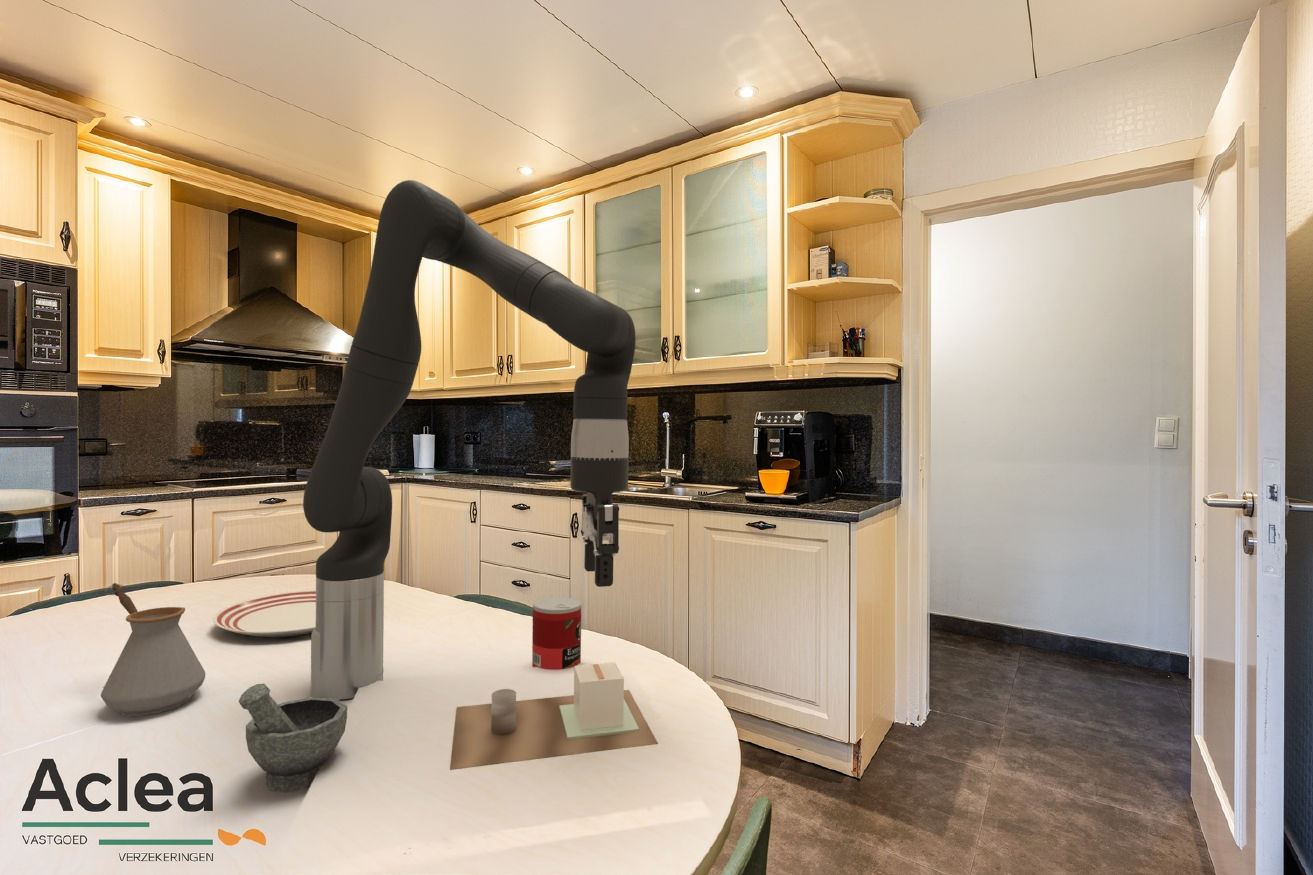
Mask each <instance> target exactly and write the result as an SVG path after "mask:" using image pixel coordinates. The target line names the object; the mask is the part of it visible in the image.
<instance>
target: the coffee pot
mask: <svg viewBox="0 0 1313 875" xmlns="http://www.w3.org/2000/svg"><path fill="white" fill-rule="evenodd" d="M121 587H122V588H121ZM110 588H112V590H113V591H114V593H113V594H112V593H107V590H109V589H110ZM104 594H106V595H108V596H115V597H118V600H119V603H120V604H121V606H122V607H123V608H124V609H125V610H126V612H127V613H128V615H127V616H126V617H125V621H126V622H128V623H129V625H130V628H131V632H130V635H129V637H128V639H127V641H126V643H125V645H124V646H123V649H122V651H121V653H120V655H119V657H118V658H117V660H116V663H115V664H114V667H113V669H112V671H111V673H110V675H109V677H108V679H107V681H106V682H105V684H104V686H103V688H102V690H101V693H100V697H101V699H102V701H103V702H104V704H105V705H106V706H107V707H109V708H110V709H112V710H114V711H116V712H119V714H120V715H122V716H128V717H140V716H148V715H153V714H158V713H162V712H165V711H168V710H169V711H170V710H171V709H174V708H177V707H179V706H181V705H183V704H185V703H186V702H187V701H188V700H189V699H190V697H191V696H193V695H194V694H195V693H196V692H197V691H198V690H199V688H201V687H202V685H203V683H204V681H205V679H206V671H205V669H204V667H203V665H202V664H201V662H200V660H199V658H198V657H197V655H196V654H195V651H194V650H193V648H192V645H191V644H190V642H189V641H188V639H187V637H186V636H185V634H184V632H183V630H182V629H181V627H180V625H179V623H180V620H181V617H182V615H183V614H184V613H185V611H186V608H185V607H183V606H182V607H180V606H179V607H178V606H165V607H154V608H149V609H145V610H140V611H139V610H138V609H137V607H136V606H135V604H134V603H133V601H132V598H131V596H129V595H128V594H126V590H125V587H124V585H123V584H118V583H116V582H114V583H112V585H109V586H108V587H106V589H105V590H104Z"/></svg>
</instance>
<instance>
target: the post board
mask: <svg viewBox="0 0 1313 875" xmlns="http://www.w3.org/2000/svg"><path fill="white" fill-rule="evenodd" d="M624 700H625V702H626V704H627V706H628V708H629V710H630V712H631V714H632V716H633V718H634V720H635V722H636V724H637V726H638V728H639V731H637V732H629V733H620V734H612V735H603V736H595V737H587V738H578V739H570V740H568V739H567V735H566V731H565V728H564V724H563V720H562V716H561V712H560V708H559V706H560V705H569V704H574V694H573V695H564V696H553V697H543V698H535V699H534V698H533V699H523V700H522V699H521V700H517V691H515V690H513V689H511V688H503V689H498V690H495V691H494V692H492V694H491V703H484V704H483V703H481V704H476V705H474V704H473V705H465V706H464V705H463V706H456V709H455V720H454V730H453V736H452V737H453V738H452V747H451V754H450V756H451V757H450V764H449V771H452V770H453V771H454V770H462V769H468V768H475V767H477V768H478V767H484V766H485V767H486V766H493V765H499V764H508V763H509V764H510V763H516V762H517V763H518V762H524V761H533V760H538V759H540V760H542V759H547V758H548V759H549V758H555V757H562V756H563V757H564V756H573V755H581V754H589V753H596V752H603V751H612V750H619V749H621V750H622V749H625V748H626V749H628V748H635V747H642V746H643V747H644V746H653V745H658V744H659V743H658V740H657V738H656V737H655V735H654V734H653V732H652V729H651V728H650V726H649V724H648V722H647V721H646V719H645V716H644V715H643V713H642V711H641V709H640V707H639V706H638V704H637V702H636V700H635V699H634V697H633V695H632V693H631V691H630V690H629V689H624Z"/></svg>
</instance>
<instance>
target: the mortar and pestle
mask: <svg viewBox="0 0 1313 875" xmlns="http://www.w3.org/2000/svg"><path fill="white" fill-rule="evenodd" d="M270 692H271V689H270V688H269V687H268V685H266V683H263V682H262V683H257V684H254V685H252V686H250V687H248V688H247V689H246V690H245V691H244V692H243V693H242V694H241V695H240V697H239V699H238V703H239V705H240V706H241V707H242V708H243V709H244V710H247V711H248V713H249V715H250V716H251V719H250V720H249V722H248V723H246V725H245V740H246V745H247V750H248V753H249V754H250V755H251V757H252V758H253V760H254V761H255V763H257V766H259V767H260V769H261V770H262V771H263V772H266V775H265V781H264V782H265V783H264V785H265V786H266V787H267V788H268V789H269V790H270V792H281V793H289V792H294V791H297V790H298V791H299V790H303V789H307V788H310V787H311V786H312V784H313V781H314V780H315V778H316V776H317V774H318V771H319V770H320V767H321V766H323V764H324V763H325V762H326V761H327V760H328V759H329V758H330V757H331V756H332V755H333V753H334V752H335V750H336V748H337V747H338V745H339V743H340V741H341V740H342V737H343V735H344V733H345V731H346V727H347V726H346V725H347V719H348V706H347V705H346V704H345V703H343V702H342V701H341V700H338V699H335V698H318V697H311V696H310V697H306V698H302V699H301V698H300V699H294V700H290V701H285V702H281V703H279V704H278V703H277V702H276V701H275V699H274V698H273V697H272V696H271V694H270Z"/></svg>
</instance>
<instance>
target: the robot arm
mask: <svg viewBox="0 0 1313 875" xmlns="http://www.w3.org/2000/svg"><path fill="white" fill-rule="evenodd" d="M377 223H378V224H377V228H376V234H375V242H374V248H373V253H372V254H373V255H372V261H371V266H370V271H369V272H370V273H369V276H368V277H369V278H368V281H367V287H366V290H365V293H364V294H365V295H364V299H363V304H362V307H361V312H360V314H359V315H360V316H359V319H358V323H357V326H356V329H355V333H354V334H353V338H352V340H351V346H350V349H349V353H348V356H347V359H346V363H345V364H346V365H345V367H344V373H343V376H342V380H341V385H340V388H339V392H338V395H337V398H336V401H335V405H334V408H333V411H332V415H331V418H330V421H329V424H328V427H327V431H326V433H325V435H324V438H323V440H322V443H321V445H320V448H319V451H318V453H317V455H316V458H315V460H314V462H313V466H312V468H311V471H310V473H309V476H308V478H307V482H306V485H305V487H304V493H303V499H302V506H303V507H302V508H303V513H304V516H305V518H306V521H307V523H308V524H309V525H310V527H311V528H312V529H314V530H315V531H318V532H320V533H338V532H339V533H338V536H337V538H336V540H335V541H334V543H333V544H332V545H331V546H330V547H329V548H328V549H327V550H326V551H324V552H323V553H321V554H320V555H319V557H318V558H316V563H315V590H316V628H315V629H314V631H313V632H312V633H310V634H311V636H310V698H311V697H318V698H335V699H338V700H339V701H341V700H348V699H354V698H355V697H356V695H357V693H358V691H359V689H360V688H364V687H368V686H369V685H372V684H374V683H376V682H379V681H380V682H381V681H384V631H385V630H384V629H385V628H384V625H385V624H384V619H385V618H384V617H385V616H384V615H385V614H384V612H385V611H384V610H385V609H384V608H385V605H384V603H385V598H384V596H385V592H384V590H385V561H386V558H387V556H388V554H389V551H390V546H391V534H392V520H393V518H392V517H393V493H392V488H391V485H390V482H389V479H387V477H386V475H385V474H384V473H383V472H382V471H380V470H379V469H377V468H375V467H371V466H365V463H366V460H367V458H368V456H369V455H368V454H369V452H370V450H371V447H372V446H373V444H374V442H375V440H376V439H377V438H378V436H379V435H380V434H381V433H382V431H383V430H384V428H385V427H386V426H387V425H388V423H390V422H391V420H392V418H394V416H395V415H396V414H397V413H398V412H399V410H400V409H401V408H402V406H403V404H404V403H405V402H406V401H407V398H408V397H409V396H410V393H411V391H412V388H413V384H414V382H415V378H416V374H417V371H418V368H419V363H420V359H421V355H422V337H421V336H422V335H421V330H420V329H421V327H420V322H419V317H418V313H417V309H416V307H417V306H416V295H415V294H416V283H417V279H418V275H419V271H420V267H421V263H422V260H423V258H424V259H427V260H432V261H436V262H440V263H443V264H446V265H448V266H452V267H454V268H457V269H460V270H462V271H464V272H467V273H469V274H471V275H473V276H474V277H476V278H477V279H480V280H481V281H482V282H484V283H485V284H486V285H487V286H488V287H490V289H492V290H493V291H494V293H496V294H497V295H499V297H501V298H502V299H503V300H505V301H506V302H507V303H509V304H511V305H512V306H513V307H515V308H516V309H519V310H520V311H522V312H523V313H524V314H527V315H528V316H530V317H531V318H533V319H535V320H536V321H538V322H540V323H542V324H544V325H546V326H547V327H548V328H549V329H551V331H553V332H554V333H555V334H557V335H558V336H559V337H560V338H562V339H564V340H565V342H567V343H569V344H571V345H572V346H574V347H575V348H577V349H578V350H581V351H583V352H586V353H587V356H586V362H585V370H584V374H581V375H580V376H578V378H577V379H576V380H575V383H574V389H573V411H572V412H573V415H572V416H573V417H572V418H573V420H572V422H573V423H572V429H571V436H570V438H571V440H570V481H569V482H570V484H569V485H570V488H571V489H572V491H574V492H578V493H582V495H581V528H580V529H581V530H580V534H581V537H582V541H583V543H584V560H583V562H584V566H583V568H584V569H585V571H586V572H587V573H588V572H594V584H595V586H596V587H611V586H612V585H613V584H614V557H615V556H616V554H619V550H620V545H619V534H620V532H619V528H620V527H619V524H620V523H619V522H620V520H619V517H620V516H619V515H620V514H619V511H620V507H619V504H618V503H615V504H613V497H612V496H613V494H614V493H622V492H625V491H627V490H628V488H629V453H630V452H629V451H630V450H629V448H630V447H629V446H630V445H629V444H630V442H629V440H630V436H629V435H630V434H629V430H628V387H629V386H628V384H629V380H630V376H631V373H632V368H633V367H632V366H633V363H634V362H633V361H634V356H635V353H636V352H635V351H636V340H637V339H636V336H637V335H636V329H635V323H634V321H633V319H632V317H631V315H630V314H629V312H627V311H626V310H625V309H624V308H622V307H621V306H618V305H616V304H615V303H612V302H611V301H609V300H607V299H605V298H603V297H602V296H599V295H597V294H596V293H593V292H591V291H589V290H588V289H586V288H584V287H583V286H579V285H577V284H576V283H574V281H572V280H571V279H570V278H568V277H567V276H566V275H564V274H563V273H561V272H560V271H558V270H556V269H555V268H552V267H551V266H549V265H548V264H546V263H544V262H542V261H541V260H539V259H537V258H536V257H533V256H532V255H530V254H528V253H525V252H523V251H521V250H519V249H517V248H515V247H512V246H510V245H508V244H506V243H505V242H503V241H501V240H499V239H498V238H496V237H495V236H494V235H492V234H491V233H489V232H488V231H487V230H485V229H484V228H483V227H482V226H480V225H479V224H478V223H477V222H476V221H475V220H473V219H472V217H471V216H470V215H468V214H467V213H466V212H465V211H463V209H461V208H460V206H459V205H458V204H456V203H455V202H454V201H453V200H452V199H450V198H449V197H446V196H445V195H443V194H441V193H440V192H439V191H436V190H435V189H433V188H431V187H429V186H428V185H426V184H424V183H423V182H419V181H416V180H413V179H408V180H407V179H406V180H403V181H402V180H401V181H400V182H398V183H397V184H396V185H395V186H393V188H391V189H390V191H389V192H388V194H387V196H386V198H385V199H384V202H383V204H382V207H381V210H380V214H379V218H378V222H377ZM603 541H607V542H608V543H603Z"/></svg>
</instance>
